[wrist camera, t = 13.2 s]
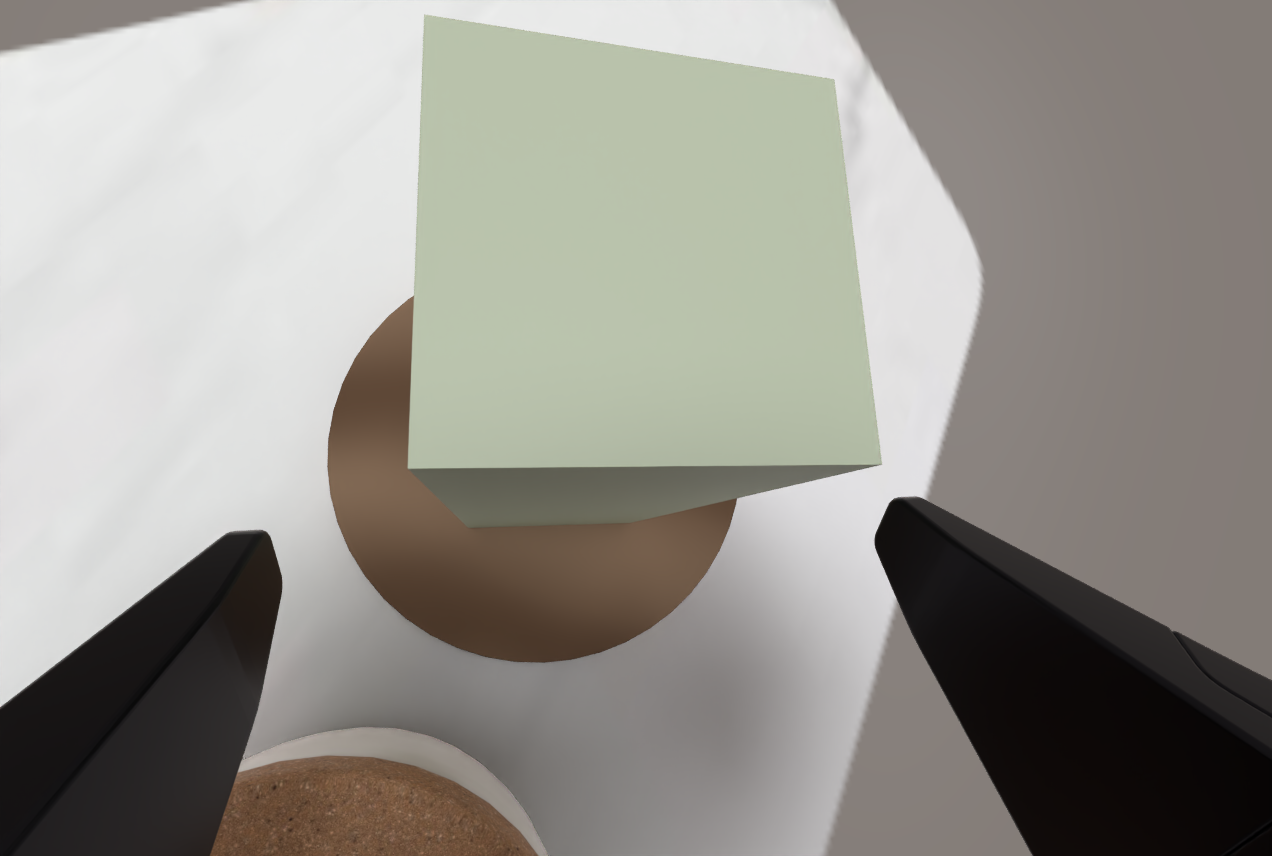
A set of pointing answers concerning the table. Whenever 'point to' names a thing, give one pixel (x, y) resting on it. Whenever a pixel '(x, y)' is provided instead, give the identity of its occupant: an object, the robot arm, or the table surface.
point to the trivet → (495, 539)
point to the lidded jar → (371, 800)
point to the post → (628, 282)
